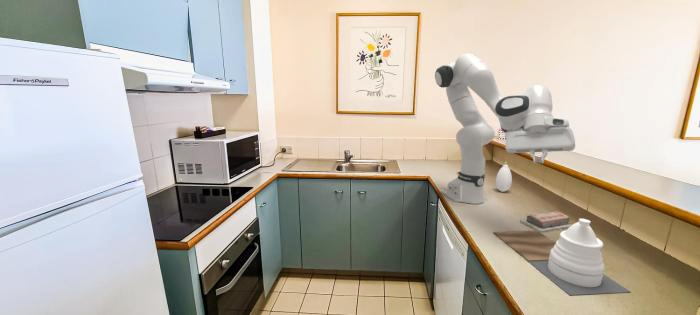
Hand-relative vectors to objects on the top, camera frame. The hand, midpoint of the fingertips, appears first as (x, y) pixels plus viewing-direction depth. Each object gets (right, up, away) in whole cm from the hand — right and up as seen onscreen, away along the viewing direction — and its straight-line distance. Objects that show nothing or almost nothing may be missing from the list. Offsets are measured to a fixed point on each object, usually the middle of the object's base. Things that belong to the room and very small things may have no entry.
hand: (538, 162), depth 97 cm
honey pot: (+3, -34, -11) cm, 35 cm away
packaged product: (+18, -27, +23) cm, 40 cm away
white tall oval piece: (+22, -18, +65) cm, 71 cm away
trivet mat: (+3, -34, -11) cm, 36 cm away
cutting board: (+2, -30, +6) cm, 31 cm away
